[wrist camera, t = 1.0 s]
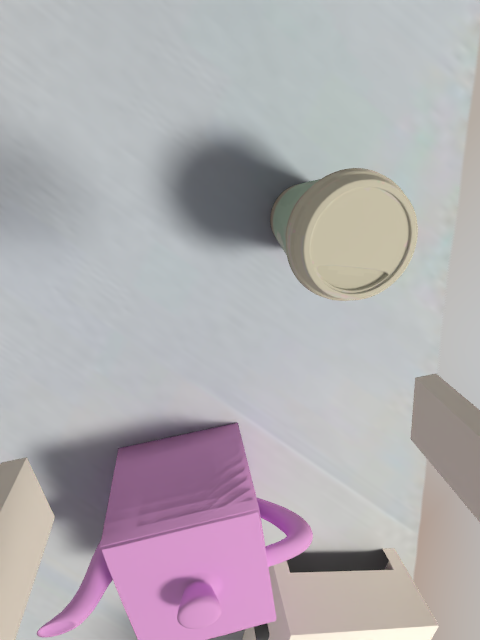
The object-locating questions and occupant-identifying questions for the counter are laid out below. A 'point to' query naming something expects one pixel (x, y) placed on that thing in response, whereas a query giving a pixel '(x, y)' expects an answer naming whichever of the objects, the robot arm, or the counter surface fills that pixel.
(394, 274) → the coffee cup
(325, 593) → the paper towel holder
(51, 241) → the counter surface
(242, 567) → the teapot
